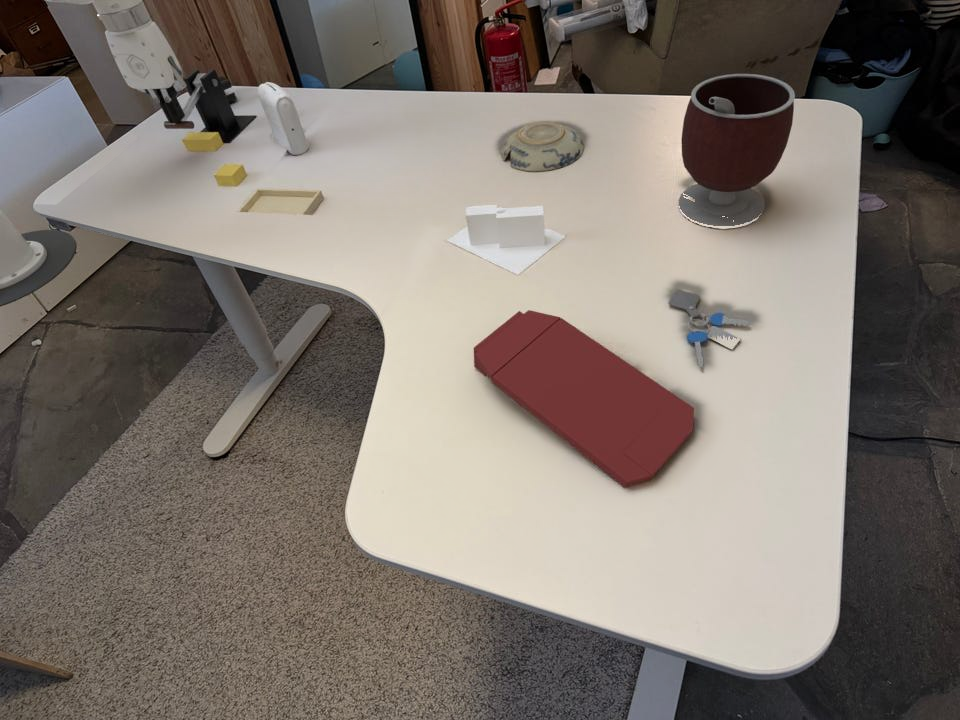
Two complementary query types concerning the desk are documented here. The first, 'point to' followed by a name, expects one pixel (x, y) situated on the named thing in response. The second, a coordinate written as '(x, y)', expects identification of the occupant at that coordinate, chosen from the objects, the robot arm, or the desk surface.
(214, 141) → the butter
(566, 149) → the decorative bowl
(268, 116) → the photo printer
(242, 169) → the butter pat
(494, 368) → the dark red case
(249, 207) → the beige square tray
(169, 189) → the desk surface
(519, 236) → the napkin holder
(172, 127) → the grey and brown t-shape
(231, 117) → the black stand
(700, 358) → the key chain
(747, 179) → the mate gourd
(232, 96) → the end cap
